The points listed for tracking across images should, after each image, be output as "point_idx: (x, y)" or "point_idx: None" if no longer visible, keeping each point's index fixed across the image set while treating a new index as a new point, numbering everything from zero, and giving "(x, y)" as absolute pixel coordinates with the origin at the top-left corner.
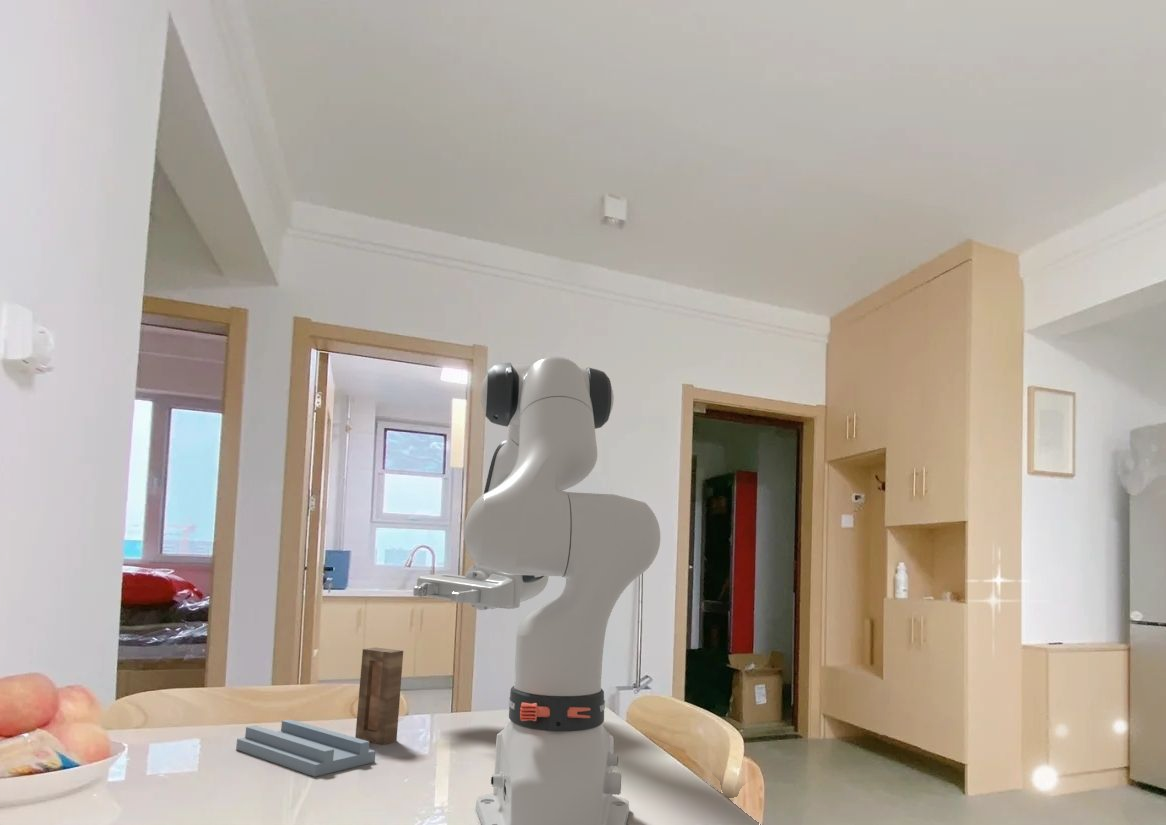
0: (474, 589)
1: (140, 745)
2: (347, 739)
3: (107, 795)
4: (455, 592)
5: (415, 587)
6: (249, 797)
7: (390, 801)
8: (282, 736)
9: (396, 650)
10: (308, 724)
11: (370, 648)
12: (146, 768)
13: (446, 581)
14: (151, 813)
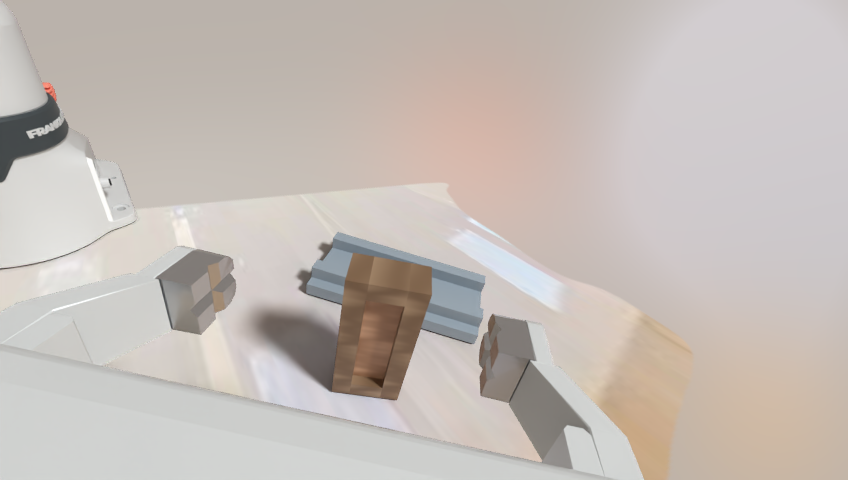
0: (15, 346)
1: (560, 277)
2: (343, 267)
3: (443, 201)
4: (205, 255)
5: (529, 321)
6: (357, 210)
7: (235, 219)
8: (418, 259)
9: (361, 278)
10: (439, 305)
11: (427, 279)
12: (483, 237)
13: (398, 431)
14: (390, 188)
